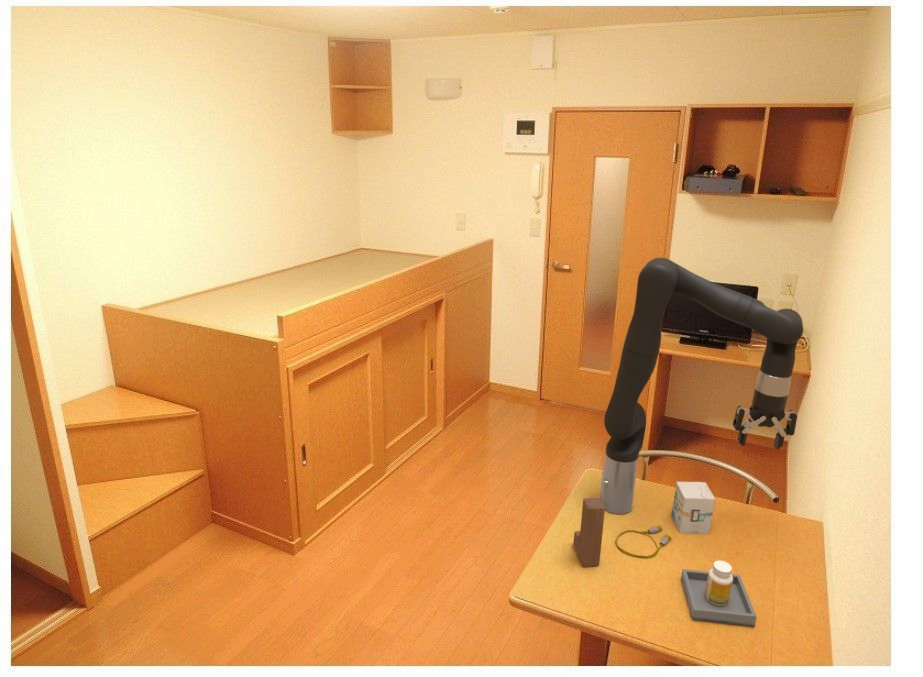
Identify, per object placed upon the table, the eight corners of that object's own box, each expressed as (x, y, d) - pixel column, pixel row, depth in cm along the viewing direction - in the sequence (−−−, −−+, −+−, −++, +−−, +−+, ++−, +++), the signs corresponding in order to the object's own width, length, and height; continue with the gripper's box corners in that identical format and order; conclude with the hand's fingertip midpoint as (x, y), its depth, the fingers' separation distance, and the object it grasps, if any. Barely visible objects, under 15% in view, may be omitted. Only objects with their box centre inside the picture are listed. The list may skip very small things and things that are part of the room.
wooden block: (572, 544, 166) (577, 487, 159) (588, 543, 166) (594, 486, 160) (582, 567, 157) (588, 508, 151) (599, 566, 158) (605, 507, 152)
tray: (692, 620, 141) (694, 609, 140) (680, 578, 154) (682, 569, 153) (754, 627, 139) (756, 616, 138) (737, 584, 152) (739, 574, 151)
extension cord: (680, 558, 161) (681, 552, 161) (621, 560, 160) (622, 554, 160) (663, 529, 173) (664, 523, 172) (608, 531, 172) (609, 525, 171)
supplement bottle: (699, 592, 148) (705, 560, 145) (719, 588, 149) (725, 556, 146) (713, 608, 143) (719, 575, 140) (733, 604, 145) (740, 571, 141)
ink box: (670, 514, 179) (675, 480, 175) (700, 515, 178) (706, 481, 174) (679, 533, 171) (684, 497, 167) (710, 534, 170) (716, 498, 166)
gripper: (746, 393, 149) (734, 451, 155) (808, 397, 148) (793, 456, 153) (737, 380, 156) (726, 436, 162) (796, 384, 155) (782, 441, 160)
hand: (759, 446), depth 158 cm, fingers open, 8 cm apart
